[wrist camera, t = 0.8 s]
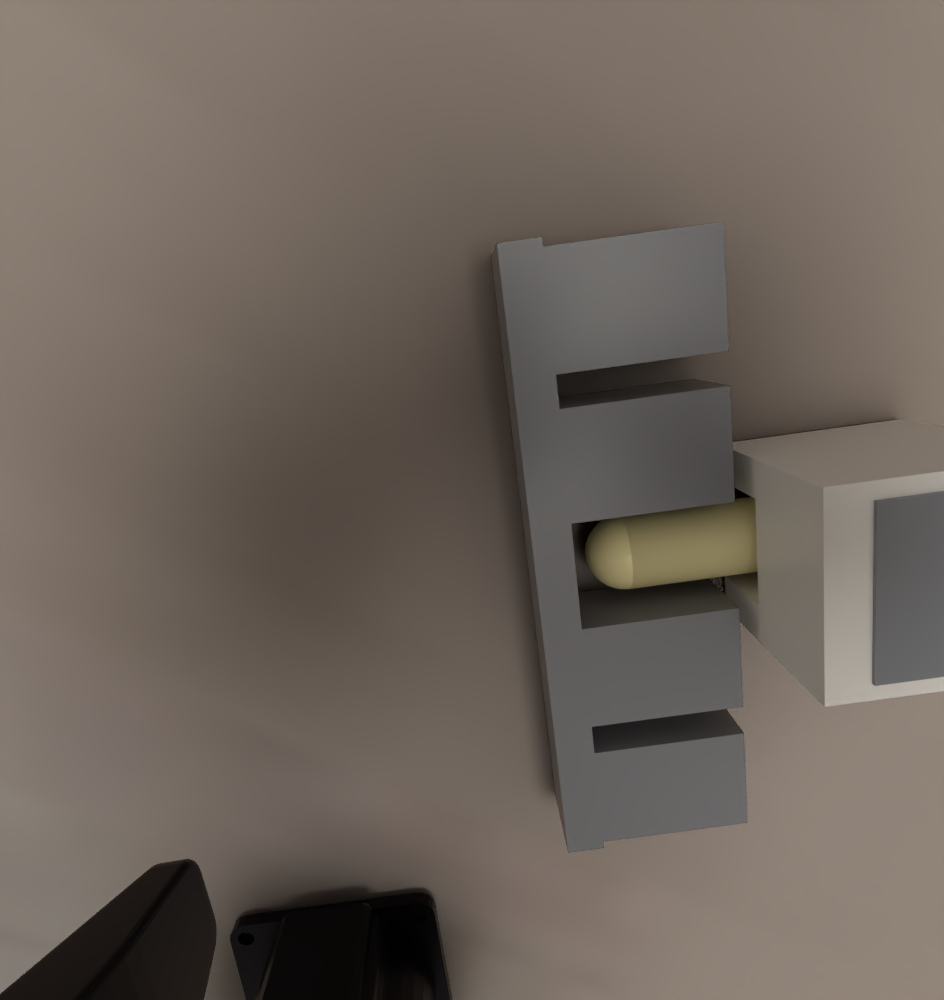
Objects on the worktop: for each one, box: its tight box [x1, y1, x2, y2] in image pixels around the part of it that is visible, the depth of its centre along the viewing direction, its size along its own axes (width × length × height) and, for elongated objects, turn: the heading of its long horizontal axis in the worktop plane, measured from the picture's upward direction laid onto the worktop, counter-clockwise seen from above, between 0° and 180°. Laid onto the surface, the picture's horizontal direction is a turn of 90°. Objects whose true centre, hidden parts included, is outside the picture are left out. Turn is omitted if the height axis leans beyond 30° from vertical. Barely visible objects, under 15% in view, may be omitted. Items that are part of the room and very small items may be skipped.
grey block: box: [725, 419, 944, 707], centre depth 16 cm, size 5×5×5 cm
